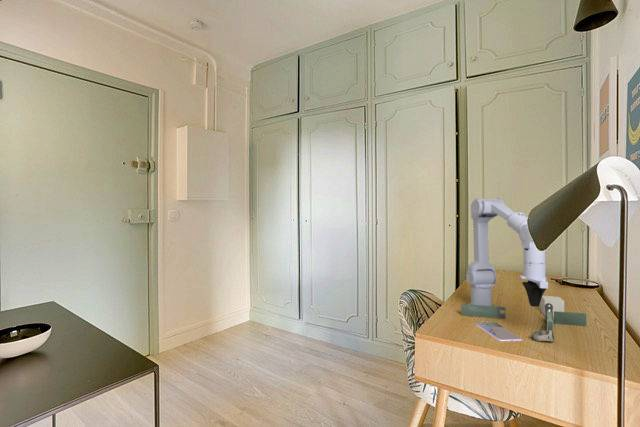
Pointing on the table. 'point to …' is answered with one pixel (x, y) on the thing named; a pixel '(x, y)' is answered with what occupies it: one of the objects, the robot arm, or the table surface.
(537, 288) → the robot arm
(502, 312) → the latch stile
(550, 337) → the wristwatch
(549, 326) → the sage green stepped bar
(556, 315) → the hinge post
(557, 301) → the off-white chamfered cube
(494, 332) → the mobile phone
